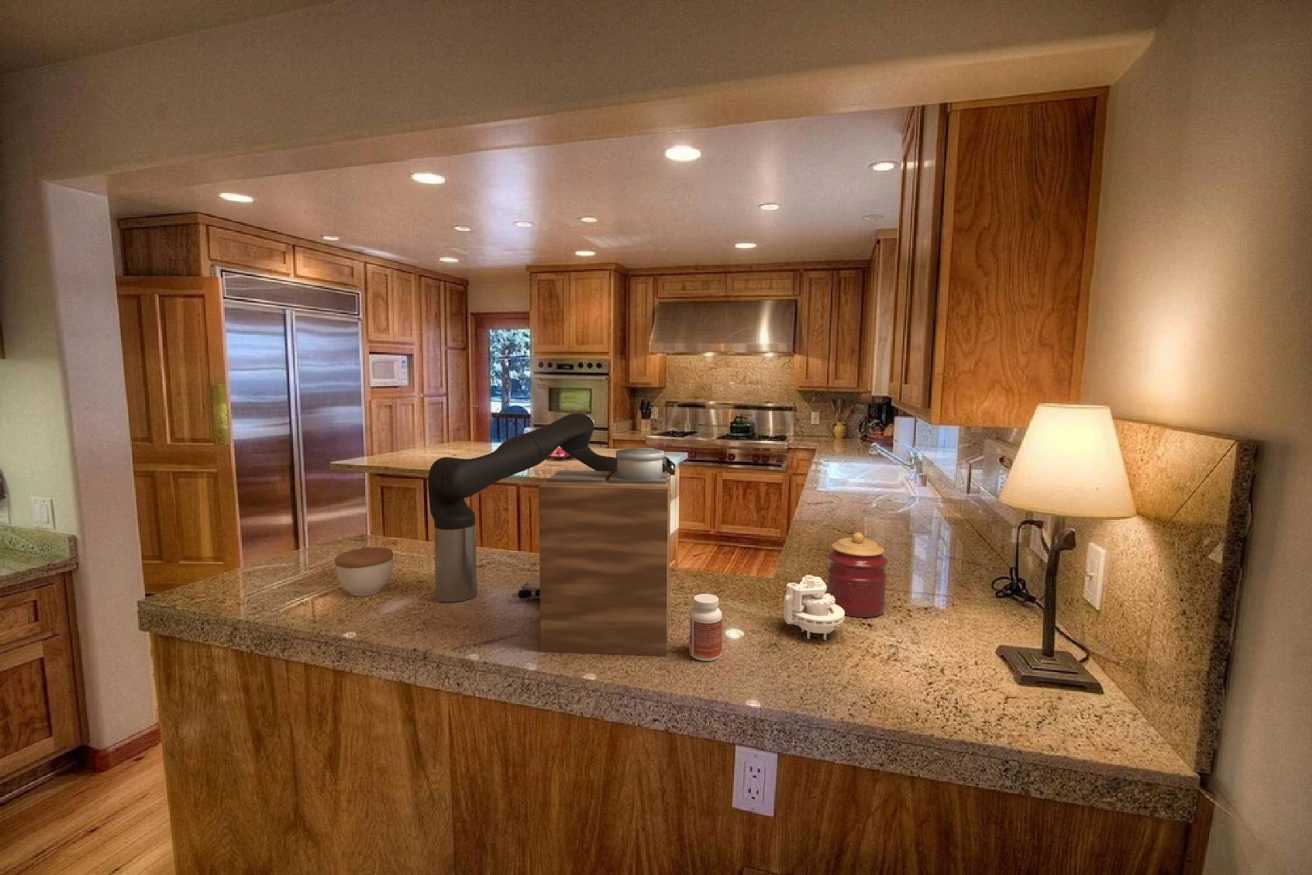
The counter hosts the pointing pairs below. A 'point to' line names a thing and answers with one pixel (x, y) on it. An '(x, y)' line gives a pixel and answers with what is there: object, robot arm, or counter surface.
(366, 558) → the lidded bowl
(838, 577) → the canister
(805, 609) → the mechanical part
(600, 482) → the wooden box
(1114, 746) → the counter surface
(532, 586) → the robot toy
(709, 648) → the pill bottle
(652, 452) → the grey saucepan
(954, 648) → the counter surface
